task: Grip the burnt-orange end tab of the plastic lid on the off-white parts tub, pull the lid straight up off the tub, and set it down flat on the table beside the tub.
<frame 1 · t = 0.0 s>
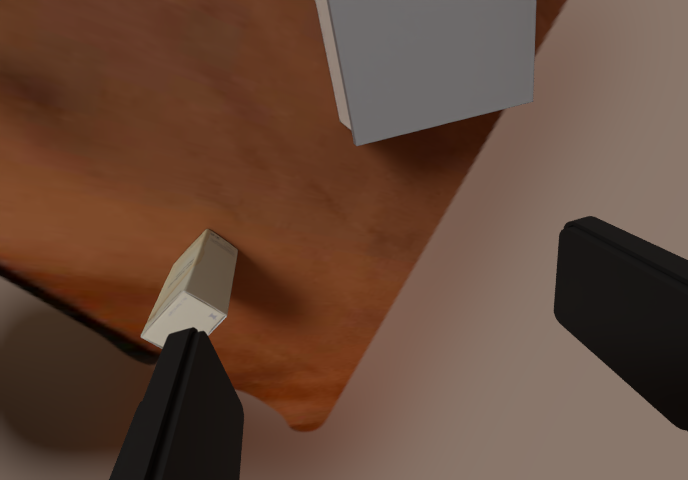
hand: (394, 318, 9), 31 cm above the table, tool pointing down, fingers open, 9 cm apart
skincare box: (206, 257, 41), on the table
parts tub: (392, 4, 34), on the table
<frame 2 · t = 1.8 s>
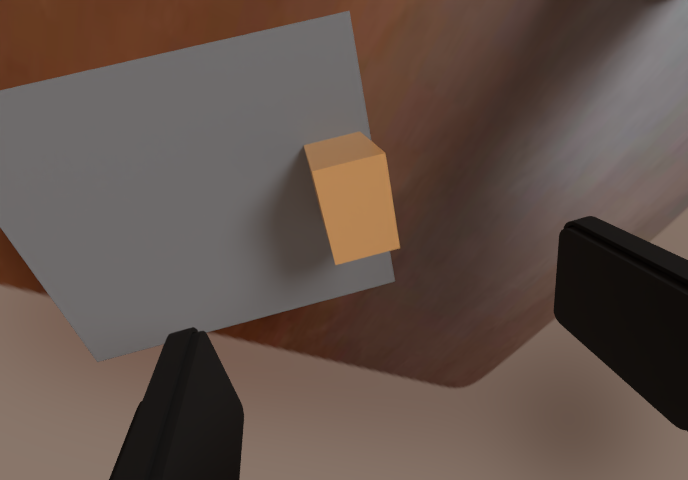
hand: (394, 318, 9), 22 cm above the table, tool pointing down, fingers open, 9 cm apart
tub lid: (210, 199, 21), point 8 cm above the table, touching parts tub
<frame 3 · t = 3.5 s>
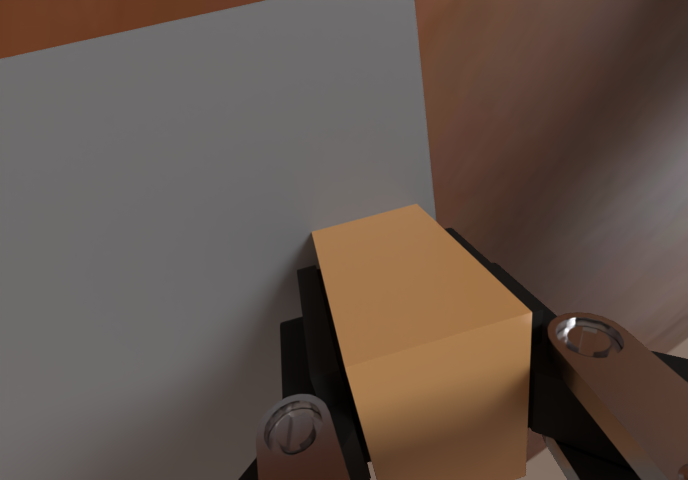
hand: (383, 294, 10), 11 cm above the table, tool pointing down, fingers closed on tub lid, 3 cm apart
tub lid: (149, 308, 12), point 8 cm above the table, touching gripper, parts tub
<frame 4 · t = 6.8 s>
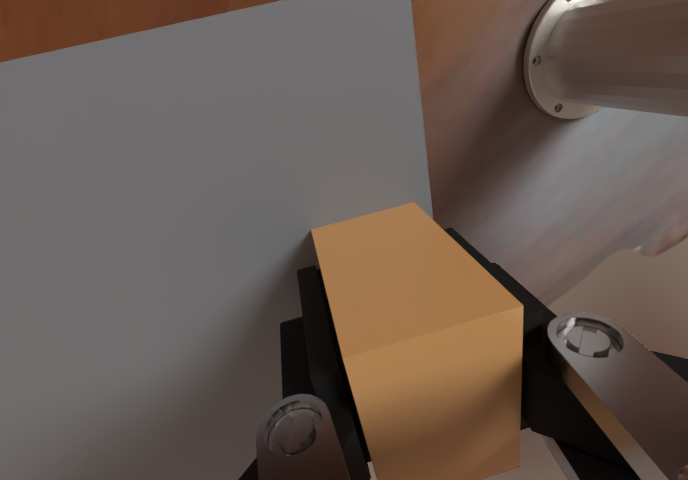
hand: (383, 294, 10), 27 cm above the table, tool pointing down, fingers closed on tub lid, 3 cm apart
tub lid: (151, 305, 13), point 24 cm above the table, touching gripper
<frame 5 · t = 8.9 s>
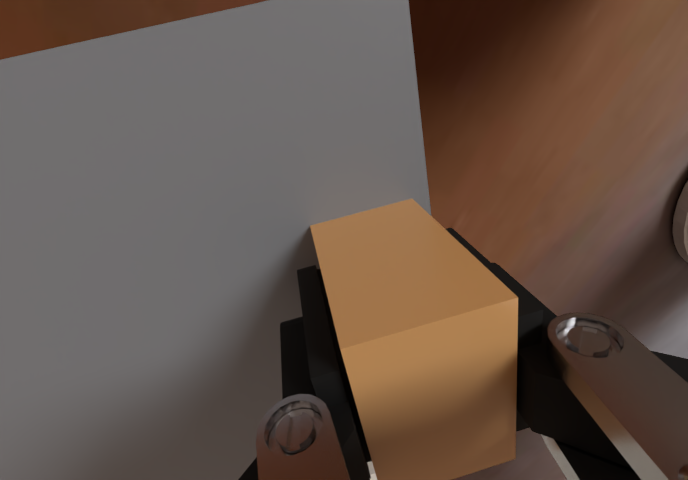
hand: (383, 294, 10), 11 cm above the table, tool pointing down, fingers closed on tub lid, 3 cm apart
tub lid: (152, 301, 13), point 8 cm above the table, touching gripper
when the fingers open (5 cm above the table, at t = 10.5 s): tub lid drops 2 cm, on the table.
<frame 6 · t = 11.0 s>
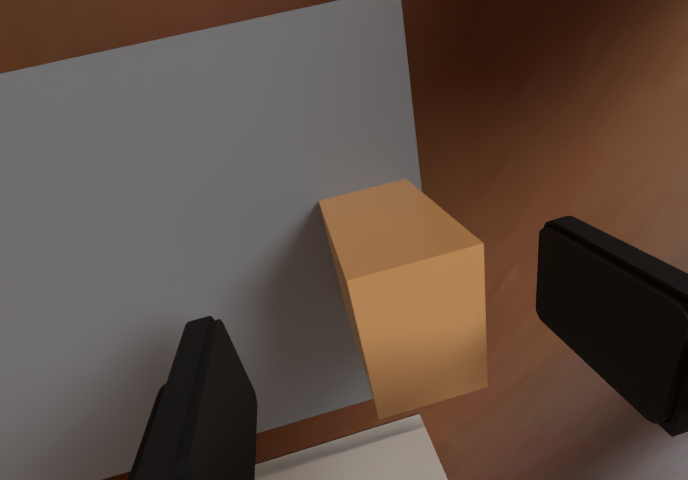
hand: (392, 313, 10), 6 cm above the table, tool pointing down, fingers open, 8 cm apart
tub lid: (178, 271, 14), on the table
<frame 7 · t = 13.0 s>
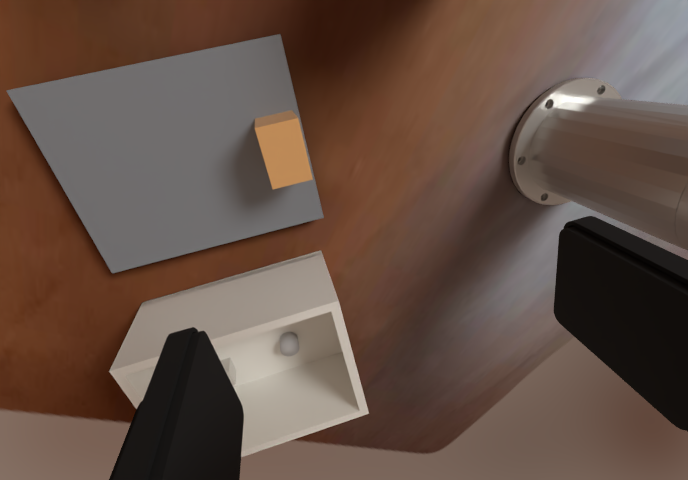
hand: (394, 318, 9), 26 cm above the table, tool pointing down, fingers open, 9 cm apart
tub lid: (193, 157, 31), on the table
parts tub: (256, 328, 39), on the table
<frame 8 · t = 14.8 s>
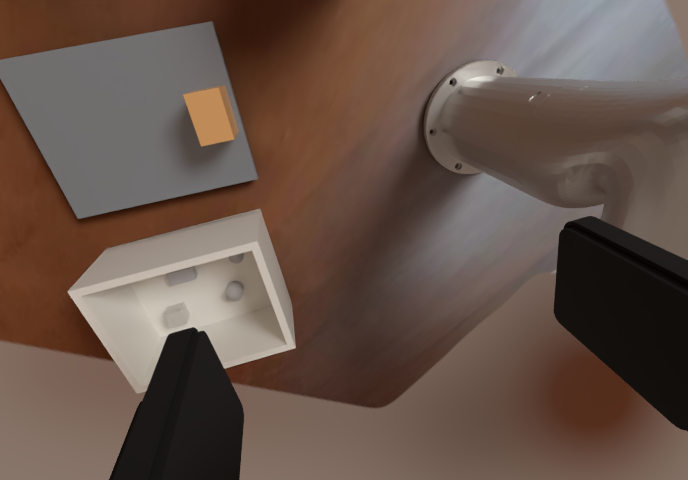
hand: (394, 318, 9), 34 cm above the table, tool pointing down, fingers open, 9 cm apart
tub lid: (146, 124, 38), on the table
parts tub: (206, 277, 46), on the table
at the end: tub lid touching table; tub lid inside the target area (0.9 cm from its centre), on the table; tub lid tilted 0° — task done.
